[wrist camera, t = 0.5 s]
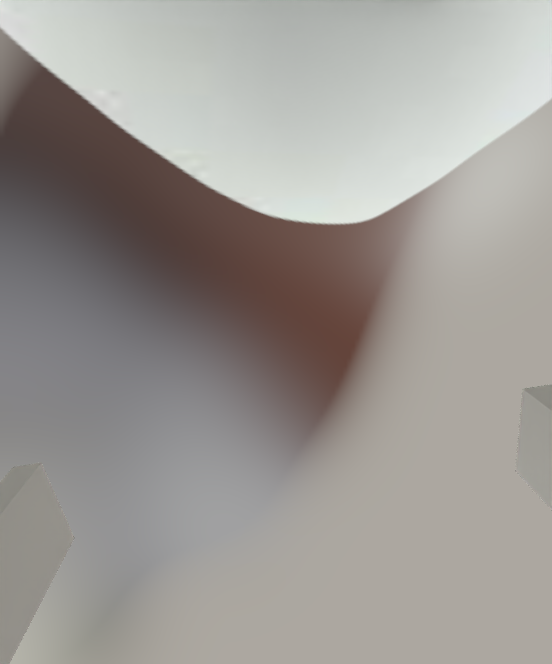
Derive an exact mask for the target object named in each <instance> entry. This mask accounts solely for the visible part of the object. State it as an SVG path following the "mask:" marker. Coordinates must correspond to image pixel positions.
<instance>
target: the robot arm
mask: <svg viewBox="0 0 552 664" xmlns="http://www.w3.org/2000/svg"><path fill="white" fill-rule="evenodd" d="M515 471H516V472H517V473H518V474H519V475H520V477H521V478H522V479H523V480H524V481H525V482H526V483H527V484H528V485H529V486H530V487H531V488H532V490H533V491H534V492H535V493H536V494H537V495H538V496H539V497H540V498H541V499H542V500H543V502H544V503H545V504H546V505H547V506H548V507H549V508H550V509H551V510H552V385H544V386H538V387H532V388H525V389H523V392H522V403H521V414H520V425H519V436H518V447H517V459H516V470H515ZM73 540H74V536H73V534H72V531H71V529H70V527H69V524H68V522H67V520H66V518H65V515H64V513H63V511H62V509H61V506H60V504H59V502H58V499H57V497H56V495H55V493H54V490H53V488H52V486H51V484H50V481H49V479H48V477H47V475H46V472H45V470H44V468H43V465H42V463H35V464H28V465H23V466H15V467H13V468H12V469H11V470H10V471H9V472H8V474H7V475H6V476H5V477H4V478H3V479H2V480H1V482H0V664H9V663H10V661H11V660H12V658H13V656H14V654H15V652H16V650H17V648H18V646H19V644H20V642H21V640H22V638H23V636H24V634H25V633H26V631H27V629H28V627H29V625H30V623H31V621H32V619H33V617H34V615H35V613H36V611H37V609H38V607H39V605H40V604H41V602H42V600H43V598H44V596H45V594H46V592H47V590H48V588H49V586H50V584H51V582H52V580H53V578H54V577H55V575H56V573H57V571H58V569H59V567H60V565H61V563H62V561H63V559H64V557H65V555H66V553H67V551H68V550H69V548H70V546H71V544H72V542H73Z"/></svg>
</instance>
